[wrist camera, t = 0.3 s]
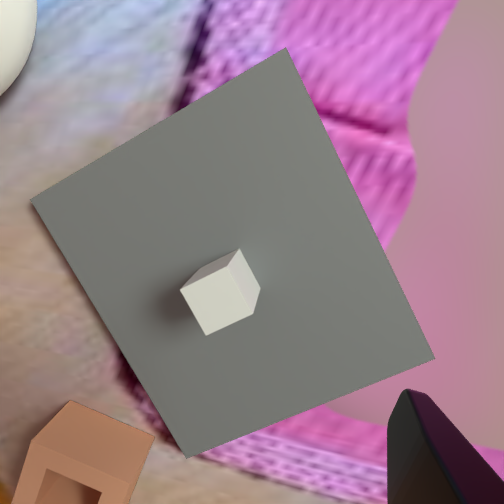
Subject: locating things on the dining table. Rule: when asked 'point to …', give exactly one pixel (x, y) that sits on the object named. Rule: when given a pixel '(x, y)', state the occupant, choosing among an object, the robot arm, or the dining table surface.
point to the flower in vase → (15, 37)
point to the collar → (82, 460)
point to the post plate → (282, 235)
